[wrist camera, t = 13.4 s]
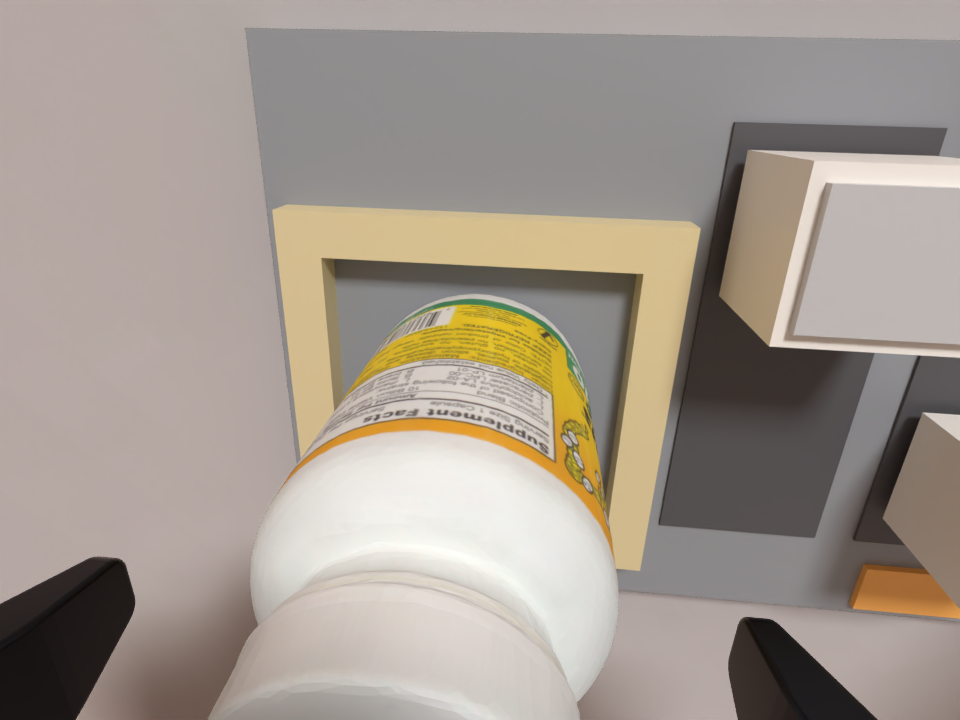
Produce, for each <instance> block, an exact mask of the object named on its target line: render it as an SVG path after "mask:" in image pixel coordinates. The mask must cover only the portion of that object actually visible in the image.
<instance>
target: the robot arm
mask: <svg viewBox="0 0 960 720" xmlns="http://www.w3.org/2000/svg"><path fill="white" fill-rule="evenodd" d="M134 608H135V596H134V592H133V589H132V585H131V582H130V578H129V575H128V571H127V567H126V565H125V563H124V562H123V561H122V560H121V559H118V558H109V557H92V558H89V559H87V560H85V561H83V562H81V563H79V564H77V565H75V566H73V567H71V568H69V569H67V570H65V571H64V572H62V573H60V574H58V575H56V576H54V577H52V578H50V579H48V580H46V581H44V582H42V583H40V584H38V585H36V586H34V587H32V588H30V589H28V590H26V591H25V592H23V593H21V594H19V595H17V596H15V597H13V598H11V599H9V600H7V601H5V602H3V603H1V604H0V720H76V718H77V716H78V715H79V713H80V711H81V709H82V708H83V706H84V704H85V703H86V701H87V699H88V697H89V695H90V693H91V691H92V690H93V688H94V686H95V684H96V682H97V680H98V678H99V677H100V675H101V673H102V671H103V669H104V667H105V665H106V663H107V662H108V660H109V658H110V656H111V654H112V652H113V650H114V649H115V647H116V645H117V643H118V641H119V639H120V637H121V636H122V634H123V632H124V630H125V628H126V626H127V624H128V623H129V621H130V619H131V617H132V614H133V612H134ZM728 670H729V678H730V683H731V688H732V693H733V698H734V703H735V708H736V713H737V718H738V720H878V719H877V718H875V717H874V716H873V715H872V714H871V713H870V712H869V711H868V710H867V709H866V708H865V707H864V706H863V705H862V704H861V703H860V702H859V701H858V700H857V699H856V698H855V697H854V696H853V695H852V694H851V693H850V692H848V691H847V690H846V689H845V688H844V687H843V686H842V685H841V684H840V683H839V682H838V681H837V680H836V679H835V678H834V677H833V676H832V675H831V674H830V673H829V672H828V671H827V670H826V669H825V668H824V667H823V666H821V665H820V664H819V663H818V662H817V661H816V660H815V659H814V658H813V657H812V656H811V655H810V654H809V653H808V652H807V651H806V650H805V649H804V648H803V647H802V646H801V645H800V644H799V643H798V642H797V641H796V640H795V639H793V638H792V637H791V636H790V635H789V634H788V633H787V632H786V631H785V630H784V629H783V628H782V627H781V626H780V625H779V624H778V623H776V622H775V621H773V620H771V619H763V618H753V617H744V618H742V619H741V620H740V622H739V624H738V627H737V631H736V634H735V638H734V641H733V645H732V649H731V652H730V656H729V662H728Z"/></svg>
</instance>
